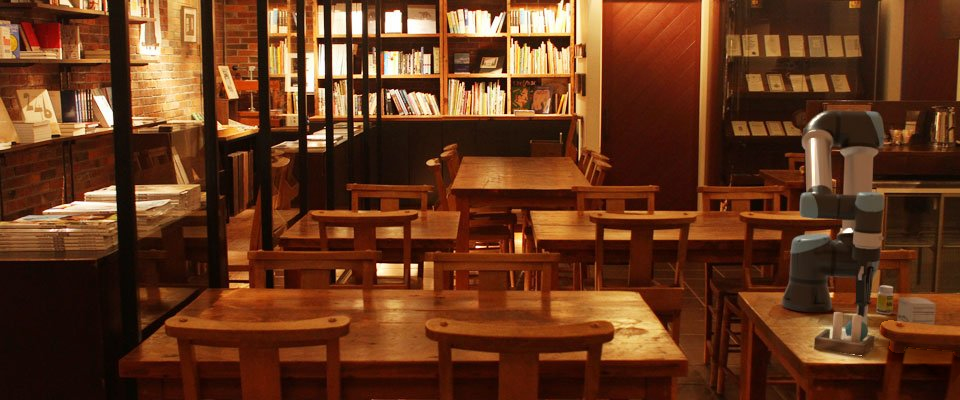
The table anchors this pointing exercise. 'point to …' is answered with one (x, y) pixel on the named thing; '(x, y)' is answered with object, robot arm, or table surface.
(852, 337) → the pin
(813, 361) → the table surface
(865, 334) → the ball
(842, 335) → the beige square tile
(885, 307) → the supplement bottle
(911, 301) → the supplement box
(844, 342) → the tray
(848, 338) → the pin front
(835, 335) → the pin
